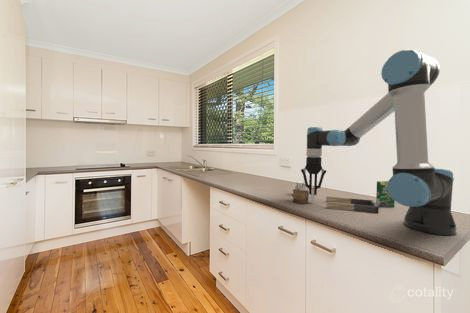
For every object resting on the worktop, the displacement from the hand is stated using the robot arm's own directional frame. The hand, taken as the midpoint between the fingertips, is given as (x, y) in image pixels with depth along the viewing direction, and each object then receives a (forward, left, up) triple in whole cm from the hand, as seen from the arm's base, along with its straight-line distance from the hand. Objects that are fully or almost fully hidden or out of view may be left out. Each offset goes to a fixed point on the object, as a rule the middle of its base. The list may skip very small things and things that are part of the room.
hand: (312, 200), depth 119 cm
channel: (0, -18, -1) cm, 18 cm away
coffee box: (+8, -35, -2) cm, 36 cm away
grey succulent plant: (+16, +7, -2) cm, 17 cm away
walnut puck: (0, +6, -2) cm, 6 cm away
